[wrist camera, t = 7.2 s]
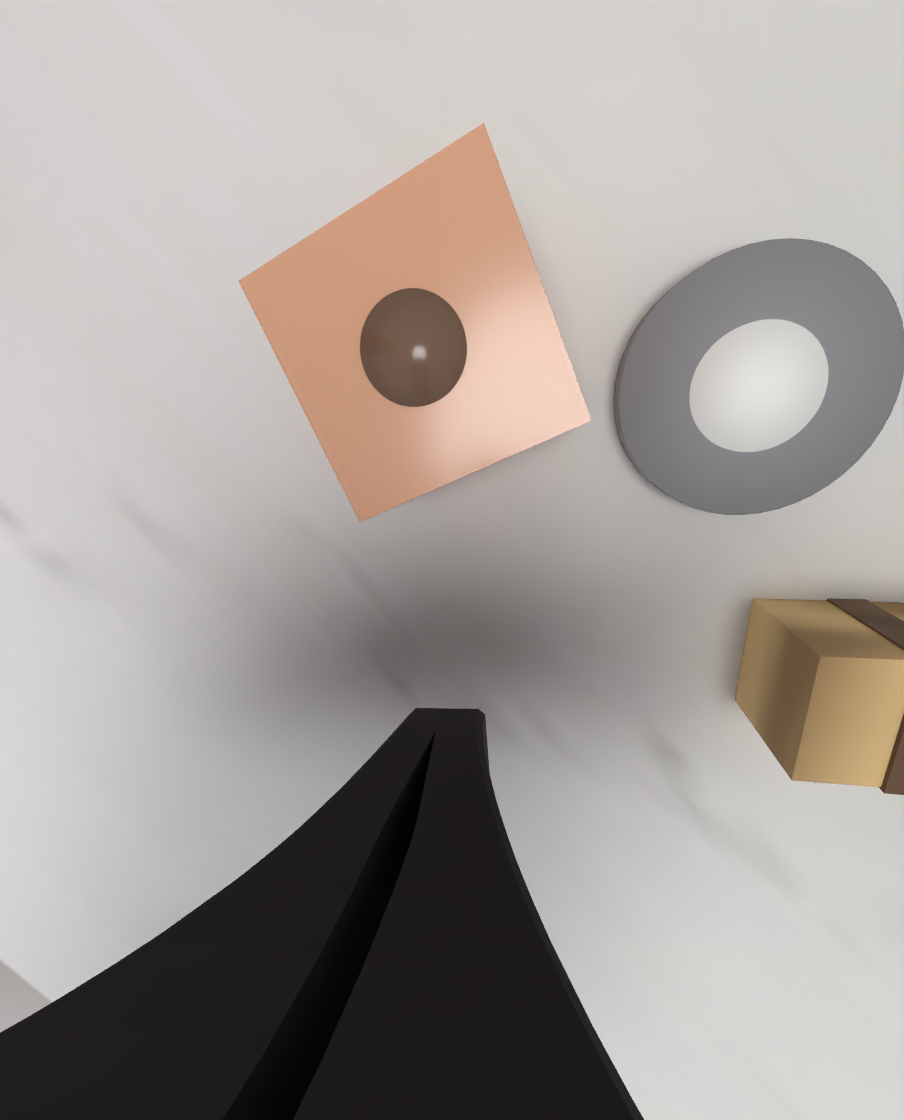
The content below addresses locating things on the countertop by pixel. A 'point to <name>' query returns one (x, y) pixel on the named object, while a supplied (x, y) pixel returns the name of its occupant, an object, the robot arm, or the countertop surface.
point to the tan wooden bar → (828, 688)
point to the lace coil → (760, 377)
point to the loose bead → (420, 332)
